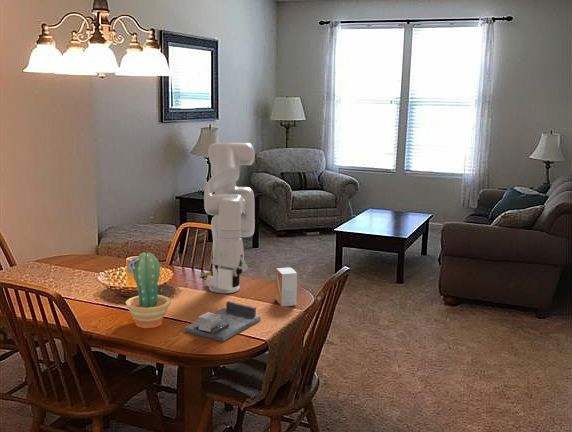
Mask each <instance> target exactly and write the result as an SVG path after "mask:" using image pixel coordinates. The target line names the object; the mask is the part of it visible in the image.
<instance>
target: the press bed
mask: <svg viewBox="0 0 572 432" xmlns="http://www.w3.org/2000/svg"><path fill="white" fill-rule="evenodd" d="M225 303H226V305H225V306H226V307H223V308H221V309H219V310H217V311H215V312H213V313H215V314H219V315H220V316H221V320H220V327H218V328H217V329H215V330H213V331H211V332H207V331H204V330H200V329H198V327H199V319H198V320H196V321H194V322H192V323H190V324H188V325H186V326H184V332H186V333H189V334H193V335H195V336H196V335H197V336H201V337H205V338H208V339H212V340H215V341H220V342H225V341H227V340H229V339H231V338H232V337H234V336H236V335H238V334H240V333H241V332H244V331H245V330H246V329H248V328H250V327H252V326H253V325H255V324H257V323H258V322H260V321H261V316H259V315H257V307H256V306H251V305H247V304H242V303H238V302H233V301H230V300H229V301H226V302H225Z"/></svg>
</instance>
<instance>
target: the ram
mask: <svg viewBox="0 0 572 432" xmlns="http://www.w3.org/2000/svg"><path fill="white" fill-rule="evenodd" d="M198 320H199V327H198V329H200V330H204V331H207V332H211V331H213V330H215V329H217V328H218V327H220V320H221V316H220V315H219V314H215V313H214V312H210V311H207V312H205V313H204V314H202V315H199V316H198Z"/></svg>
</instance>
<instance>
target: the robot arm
mask: <svg viewBox="0 0 572 432" xmlns="http://www.w3.org/2000/svg"><path fill="white" fill-rule="evenodd" d="M207 152H208V160H209V163H210V165H211V168H212V172H213V175H212V176H211V178H209V180H208V181H207V183H206V185H205V188H204V191H203V192H204V193H203V197H204V198H203V201H204V204H203V206H204V207H203V208H204V210H205V212H206V214H207V215H210V216H213V217H212V218H211V223H210V224H211V225H210V226H211V234H212V249H213V251H212V253H213V254H212V259H211V261H210V262H211V264H212V272H213V276H206V277H207V279H205V282H209V283H210V284H209V285H208V290H209V291H211V292H212V293H215V294H225V295H226V294H232V293H236V292H238V291H239V290H240V289H241V287H240V286H239V282H241V275H242V273H243V272H245V271H246V270H247V269H248V268H249V266H248V264H247V263H246V261H245V252H244V250H245V249H244V243H243V239H242V238H250V237H253V235H254V233H255V228H256V227H255V224H256V223H255V222H256V219H255V217H256V216H255V207H256V206H255V205H256V203H255V195H254V190H253V189H252V188H251V187H249V186H238V185H237V181H238V180H239V178H240V166H252V165H253V164H254V162H255V159H256V158H255V155H256V154H255V148H254V145H253V144H252V143H250V142H230V141H229V142H228V141H227V142H214V143H211V144H210V145H209V146H208V151H207ZM220 267H227V268H233V273H234V276H233V287H236V286H239V287H236V288H234V289H232V290H225V289H221V288H218V268H220ZM236 268H237V269H236Z"/></svg>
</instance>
